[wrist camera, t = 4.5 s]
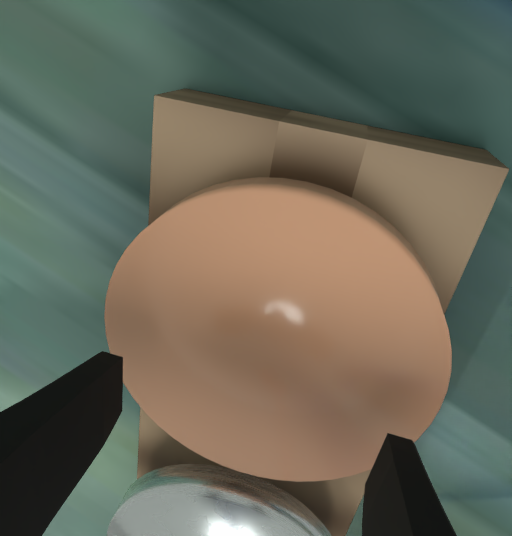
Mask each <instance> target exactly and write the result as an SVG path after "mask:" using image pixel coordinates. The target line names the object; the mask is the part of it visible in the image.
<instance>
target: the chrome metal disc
mask: <svg viewBox="0 0 512 536" xmlns="http://www.w3.org/2000/svg"><path fill="white" fill-rule="evenodd" d="M107 536H331V534H330V532H329V531H328V529H327V528H326V527H325V525H324V524H323V523H322V522H321V520H320V519H319V518H318V517H317V516H316V515H315V514H314V513H313V512H312V511H311V510H310V509H308V508H307V507H306V506H305V505H304V504H303V503H301V502H300V501H299V500H297V499H296V498H294V497H293V496H291V495H290V494H289V493H287V492H285V491H283V490H282V489H280V488H278V487H276V486H275V485H273V484H270V483H268V482H266V481H264V480H262V479H259V478H257V477H254V476H251V475H249V474H246V473H242V472H239V471H236V470H232V469H228V468H224V467H218V466H212V465H201V464H180V465H172V466H166V467H163V468H159V469H155V470H153V471H151V472H149V473H146V474H145V475H143V476H142V477H140V478H139V479H137V480H136V481H135V482H134V483H133V484H132V485H131V486H130V488H129V489H128V491H127V492H126V494H125V496H124V498H123V500H122V501H121V503H120V505H119V507H118V509H117V511H116V513H115V514H114V516H113V518H112V520H111V522H110V524H109V527H108V530H107Z"/></svg>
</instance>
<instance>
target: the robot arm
mask: <svg viewBox="0 0 512 536" xmlns="http://www.w3.org/2000/svg"><path fill="white" fill-rule="evenodd" d="M122 390H123V357H121V356H117V355H114V354H110V353H107V352H103V351H102V352H100V353H99V354H97V355H95V356H94V357H92V358H90V359H89V360H87V361H86V362H84V363H82V364H81V365H79V366H78V367H76V368H74V369H73V370H71V371H70V372H68V373H66V374H65V375H63V376H62V377H60V378H58V379H57V380H55V381H54V382H52V383H50V384H49V385H47V386H45V387H44V388H42V389H40V390H39V391H37V392H35V393H34V394H32V395H30V396H29V397H27V398H25V399H23V400H22V401H20V402H18V403H16V404H14V405H13V406H11V407H9V408H7V409H5V410H3V411H2V412H0V536H42V535H43V533H44V532H45V530H46V528H47V527H48V525H49V524H50V522H51V521H52V519H53V518H54V516H55V515H56V514H57V512H58V511H59V509H60V508H61V506H62V505H63V503H64V502H65V501H66V499H67V498H68V496H69V495H70V493H71V492H72V491H73V489H74V488H75V486H76V485H77V483H78V482H79V481H80V479H81V478H82V476H83V475H84V473H85V472H86V470H87V469H88V468H89V466H90V465H91V463H92V462H93V460H94V459H95V457H96V456H97V454H98V453H99V452H100V450H101V449H102V447H103V446H104V444H105V442H106V440H107V438H108V437H109V435H110V433H111V431H112V429H113V427H114V425H115V424H116V422H117V420H118V418H119V416H120V414H121V412H122ZM362 536H457V535H456V533H455V531H454V529H453V527H452V525H451V523H450V521H449V519H448V517H447V515H446V513H445V511H444V509H443V507H442V505H441V503H440V501H439V499H438V496H437V494H436V492H435V490H434V488H433V485H432V483H431V481H430V479H429V477H428V474H427V472H426V470H425V467H424V465H423V463H422V460H421V458H420V456H419V453H418V451H417V449H416V446H415V444H414V442H413V441H412V440H410V439H407V438H403V437H400V436H396V435H393V434H389V433H387V436H386V438H385V440H384V442H383V445H382V447H381V449H380V451H379V454H378V456H377V458H376V460H375V463H374V465H373V467H372V470H371V472H370V474H369V476H368V479H367V481H366V483H365V491H364V503H363V518H362Z"/></svg>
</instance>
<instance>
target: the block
mask: <svg viewBox="0 0 512 536" xmlns="http://www.w3.org/2000/svg"><path fill="white" fill-rule="evenodd" d="M508 171H509V168H507V167H506V166H505V165H504V164H503V163H501V162H500V161H499V160H498V159H497V158H495V157H494V156H493V155H492V154H491V153H489V152H488V151H487V150H484V149H479V148H475V147H470V146H465V145H460V144H455V143H450V142H445V141H440V140H435V139H430V138H426V137H421V136H416V135H411V134H406V133H401V132H396V131H391V130H386V129H381V128H376V127H372V126H367V125H362V124H357V123H352V122H347V121H342V120H337V119H332V118H327V117H323V116H318V115H313V114H308V113H303V112H298V111H293V110H288V109H283V108H278V107H273V106H269V105H264V104H259V103H254V102H249V101H244V100H239V99H234V98H229V97H224V96H220V95H215V94H210V93H205V92H200V91H195V90H190V89H181V90H176V91H171V92H167V93H162V94H158V95H154V111H153V134H152V156H151V179H150V201H149V224H148V226H149V225H150V224H151V223H153V222H154V221H155V220H156V219H157V218H159V217H160V216H161V215H162V214H164V213H165V212H166V211H167V210H168V209H170V208H171V207H172V206H173V205H175V204H176V203H178V202H179V201H181V200H183V199H184V198H186V197H188V196H189V195H191V194H193V193H195V192H198V191H200V190H202V189H205V188H207V187H210V186H212V185H216V184H220V183H224V182H228V181H232V180H237V179H246V178H255V177H270V178H287V179H293V180H299V181H306V182H310V183H313V184H317V185H320V186H323V187H327V188H330V189H333V190H335V191H337V192H340V193H342V194H344V195H347V196H349V197H351V198H353V199H355V200H357V201H359V202H360V203H362V204H364V205H365V206H367V207H369V208H370V209H372V210H374V211H375V212H377V213H378V214H379V215H380V216H382V217H383V218H384V219H385V220H387V221H388V222H389V223H390V224H392V225H393V226H394V227H395V228H396V229H397V230H398V231H399V232H400V233H401V234H402V235H403V236H404V237H405V238H406V240H407V241H408V242H409V243H410V244H411V245H412V246H413V248H414V249H415V251H416V252H417V253H418V255H419V256H420V258H421V259H422V261H423V262H424V264H425V266H426V268H427V270H428V272H429V274H430V276H431V278H432V279H433V281H434V284H435V287H436V290H437V293H438V297H439V300H440V303H441V306H442V310H443V313H444V314H445V312H446V309H447V307H448V305H449V303H450V301H451V298H452V296H453V294H454V292H455V289H456V287H457V285H458V283H459V280H460V278H461V276H462V274H463V271H464V269H465V267H466V265H467V263H468V260H469V258H470V256H471V254H472V251H473V249H474V247H475V245H476V242H477V240H478V238H479V236H480V233H481V231H482V229H483V227H484V224H485V222H486V220H487V218H488V216H489V213H490V211H491V209H492V207H493V204H494V202H495V200H496V198H497V195H498V193H499V191H500V189H501V186H502V184H503V182H504V180H505V178H506V175H507V173H508ZM180 464H201V465H212V466H218V467H224V468H228V467H225V466H222V465H220V464H218V463H216V462H213V461H211V460H209V459H207V458H205V457H203V456H201V455H199V454H197V453H196V452H194V451H192V450H190V449H189V448H187V447H186V446H184V445H183V444H181V443H180V442H178V441H177V440H175V439H174V438H173V437H171V436H170V435H169V434H168V433H167V432H165V431H164V430H163V429H162V428H161V427H159V426H158V425H157V424H156V423H155V422H154V421H153V420H152V419H151V418H150V417H149V416H148V415H147V414H146V413H145V412H144V410H143V409H142V408H141V407H140V426H139V448H138V471H137V479H139V478H140V477H142V476H143V475H145V474H146V473H149V472H151V471H153V470H155V469H159V468H163V467H166V466H172V465H180ZM228 469H231V468H228ZM232 470H233V469H232ZM371 470H372V469H371ZM371 470H368V471H365V472H362V473H359V474H356V475H352V476H348V477H343V478H338V479H333V480H323V481H302V482H296V481H284V480H274V479H269V478H263V477H258V476H254V475H251V476H254V477H257V478H259V479H262V480H264V481H266V482H268V483H270V484H273V485H275V486H276V487H278V488H280V489H282V490H283V491H285V492H287V493H289V494H290V495H291V496H293V497H294V498H296V499H297V500H299V501H300V502H301V503H303V504H304V505H305V506H306V507H307V508H308V509H310V510H311V511H312V512H313V513H314V514H315V515H316V516H317V517H318V518H319V519H320V520H321V522H322V523H323V524H324V525H325V527H326V528H327V529H328V531H329V532H330V534H331V536H345V535H346V533H347V531H348V529H349V526H350V524H351V522H352V520H353V517H354V515H355V513H356V511H357V508H358V506H359V504H360V502H361V499H362V497H363V495H364V491H365V483H366V481H367V479H368V476H369V474H370V472H371ZM249 475H250V474H249Z"/></svg>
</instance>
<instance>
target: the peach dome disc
mask: <svg viewBox="0 0 512 536" xmlns="http://www.w3.org/2000/svg"><path fill="white" fill-rule="evenodd" d="M105 328H106V336H107V341H108V345H109V350H110V353H111V354H114V355H117V356H121V357H123V383H124V384H125V386H126V387H127V389H128V391H129V392H130V394H131V395H132V397H133V398H134V399H135V401H136V402H137V403H138V404H139V406H140V407H141V408H142V409H143V410H144V412H145V413H146V414H147V415H148V416H149V417H150V418H151V419H152V420H153V421H154V422H155V423H156V424H157V425H158V426H159V427H161V428H162V429H163V430H164V431H165V432H167V433H168V434H169V435H170V436H171V437H173V438H174V439H175V440H177V441H178V442H180V443H181V444H183V445H184V446H186V447H187V448H189V449H190V450H192V451H194V452H196V453H197V454H199V455H201V456H203V457H205V458H207V459H209V460H211V461H213V462H216V463H218V464H220V465H222V466H225V467H228V468H231V469H233V470H236V471H239V472H242V473H246V474H250V475H254V476H258V477H263V478H269V479H274V480H284V481H296V482H302V481H323V480H333V479H338V478H343V477H348V476H352V475H356V474H359V473H362V472H365V471H368V470H371V469H372V467H373V465H374V463H375V460H376V458H377V456H378V454H379V451H380V449H381V447H382V445H383V442H384V440H385V438H386V436H387V433H389V434H393V435H396V436H400V437H403V438H407V439H410V440H412V441H413V442H415V441H416V440H418V438H419V437H420V436H421V435H422V434H423V433H424V432H425V430H426V429H427V428H428V427H429V426H430V424H431V423H432V421H433V419H434V418H435V416H436V415H437V413H438V411H439V410H440V408H441V405H442V403H443V400H444V398H445V395H446V393H447V389H448V384H449V380H450V375H451V359H452V350H451V343H450V336H449V330H448V326H447V323H446V320H445V316H444V313H443V310H442V306H441V303H440V300H439V297H438V293H437V290H436V287H435V284H434V281H433V279H432V278H431V276H430V274H429V272H428V270H427V268H426V266H425V264H424V262H423V261H422V259H421V258H420V256H419V255H418V253H417V252H416V251H415V249H414V248H413V246H412V245H411V244H410V243H409V242H408V241H407V240H406V238H405V237H404V236H403V235H402V234H401V233H400V232H399V231H398V230H397V229H396V228H395V227H394V226H393V225H392V224H390V223H389V222H388V221H387V220H385V219H384V218H383V217H382V216H380V215H379V214H378V213H377V212H375V211H374V210H372V209H370V208H369V207H367V206H365V205H364V204H362V203H360V202H359V201H357V200H355V199H353V198H351V197H349V196H347V195H344V194H342V193H340V192H337V191H335V190H333V189H330V188H327V187H323V186H320V185H317V184H313V183H310V182H306V181H299V180H293V179H287V178H270V177H255V178H246V179H237V180H232V181H228V182H224V183H220V184H216V185H212V186H210V187H207V188H205V189H202V190H200V191H198V192H195V193H193V194H191V195H189V196H188V197H186V198H184V199H183V200H181V201H179V202H178V203H176V204H175V205H173V206H172V207H171V208H170V209H168V210H167V211H166V212H165V213H164V214H162V215H161V216H160V217H159V218H157V219H156V220H155V221H154V222H153V223H151V224H150V225H149V226H148V227H147V228H145V229H144V230H143V231H142V232H141V233H139V234H138V236H137V237H136V238H135V239H134V240H133V241H132V243H131V244H130V245H129V246H128V247H127V248H126V250H125V251H124V253H123V255H122V256H121V258H120V260H119V261H118V263H117V265H116V267H115V269H114V272H113V274H112V277H111V279H110V282H109V286H108V291H107V295H106V302H105Z"/></svg>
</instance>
